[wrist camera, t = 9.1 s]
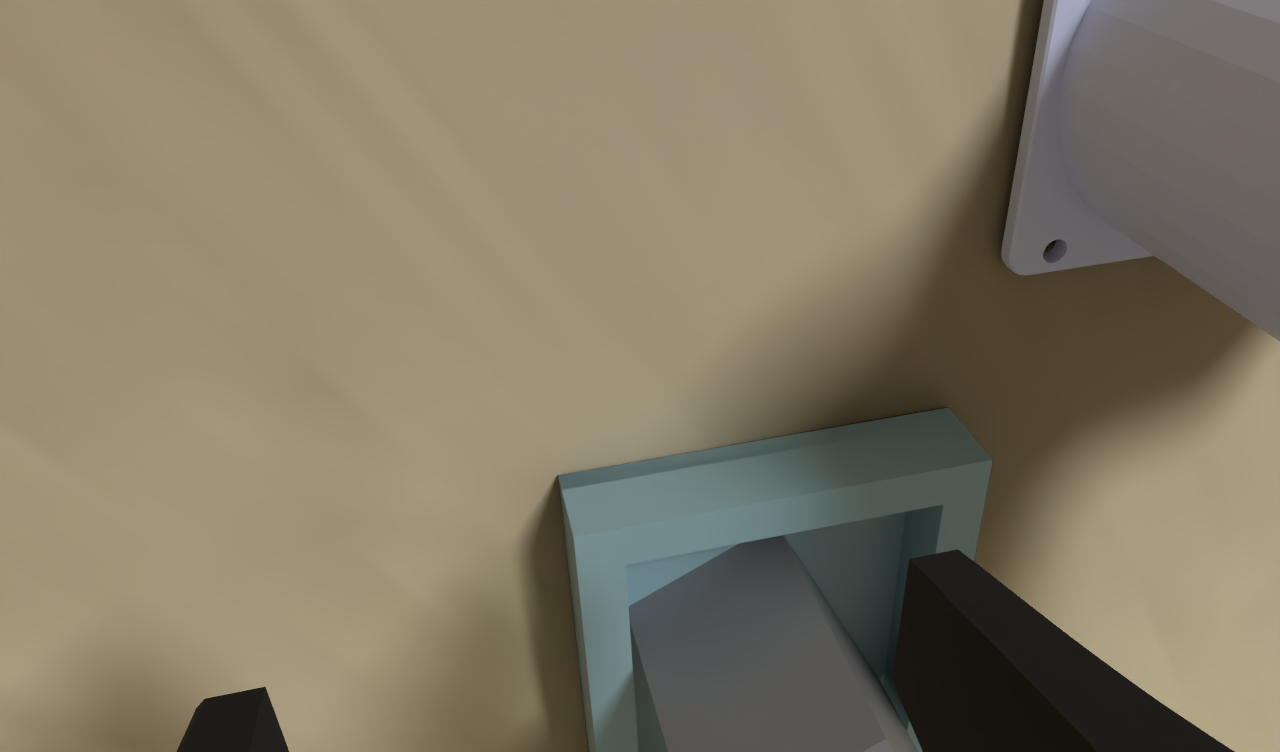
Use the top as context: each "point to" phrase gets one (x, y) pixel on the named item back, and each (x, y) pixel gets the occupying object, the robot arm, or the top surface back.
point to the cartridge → (759, 661)
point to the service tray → (757, 509)
